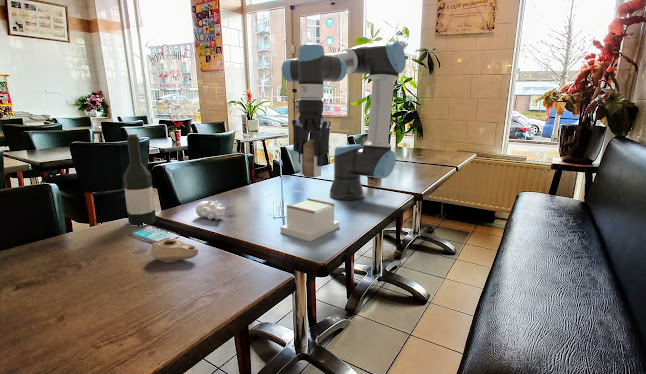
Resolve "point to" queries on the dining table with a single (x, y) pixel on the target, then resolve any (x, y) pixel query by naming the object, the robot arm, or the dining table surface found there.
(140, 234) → the smartphone
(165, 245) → the pottery oil lamp
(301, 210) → the display stand
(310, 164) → the brown domed cylinder
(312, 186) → the dining table surface
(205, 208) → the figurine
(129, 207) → the wine bottle
